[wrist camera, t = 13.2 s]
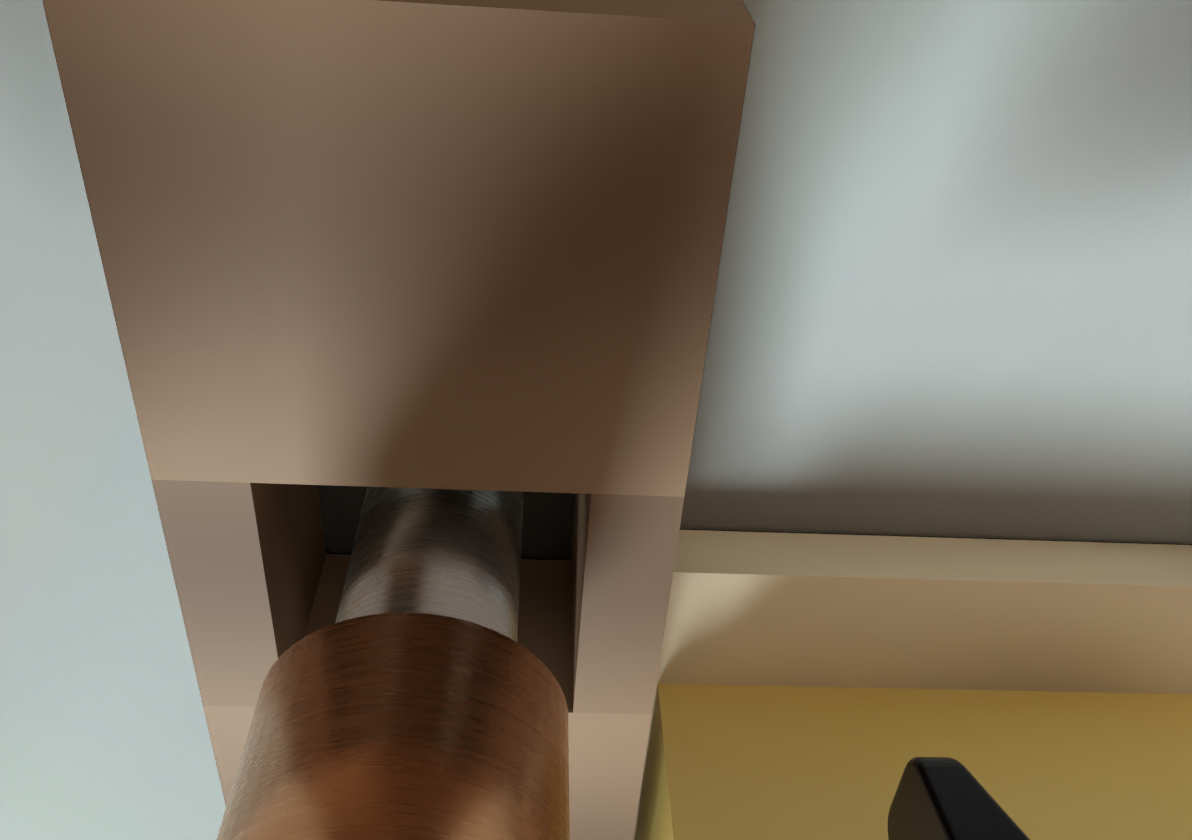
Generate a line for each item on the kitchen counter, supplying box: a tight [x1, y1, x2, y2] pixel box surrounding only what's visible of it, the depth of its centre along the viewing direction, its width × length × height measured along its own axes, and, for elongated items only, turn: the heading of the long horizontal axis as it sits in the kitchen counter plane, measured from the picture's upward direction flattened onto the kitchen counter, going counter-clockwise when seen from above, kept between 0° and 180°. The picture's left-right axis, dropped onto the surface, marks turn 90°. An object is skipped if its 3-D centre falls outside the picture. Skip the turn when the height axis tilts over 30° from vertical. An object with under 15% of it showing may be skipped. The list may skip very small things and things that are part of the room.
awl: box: [217, 487, 570, 840], centre depth 9 cm, size 3×3×9 cm
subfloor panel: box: [633, 530, 1192, 840], centre depth 17 cm, size 10×15×1 cm, turn 86°
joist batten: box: [43, 0, 755, 840], centre depth 13 cm, size 15×5×2 cm, turn 176°
